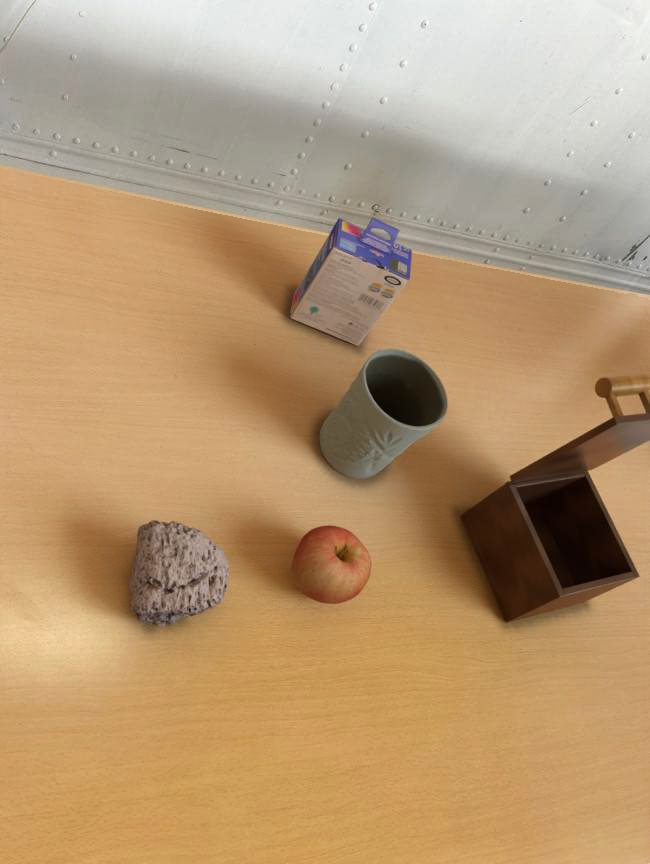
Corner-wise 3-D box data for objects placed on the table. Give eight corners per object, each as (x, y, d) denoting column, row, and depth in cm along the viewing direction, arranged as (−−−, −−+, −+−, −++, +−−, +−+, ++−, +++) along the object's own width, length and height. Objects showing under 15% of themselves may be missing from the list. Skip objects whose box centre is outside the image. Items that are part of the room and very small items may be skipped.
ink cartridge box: (363, 316, 101) (425, 234, 88) (359, 348, 98) (423, 268, 86) (294, 287, 98) (348, 198, 86) (288, 319, 96) (343, 232, 83)
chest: (583, 602, 94) (640, 576, 87) (506, 623, 89) (560, 596, 81) (536, 502, 98) (587, 469, 91) (460, 515, 93) (507, 481, 85)
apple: (264, 565, 80) (296, 534, 73) (317, 530, 84) (352, 497, 78) (311, 629, 79) (348, 603, 72) (362, 590, 83) (401, 562, 77)
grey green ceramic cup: (303, 459, 88) (353, 400, 78) (324, 394, 93) (374, 331, 83) (380, 498, 89) (440, 446, 79) (397, 432, 95) (455, 375, 84)
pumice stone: (174, 655, 75) (237, 576, 78) (186, 652, 68) (255, 565, 71) (90, 587, 75) (156, 510, 77) (93, 577, 67) (166, 491, 70)
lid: (702, 413, 78) (679, 362, 79) (617, 424, 72) (594, 368, 74) (591, 470, 90) (573, 424, 92) (511, 482, 85) (493, 434, 86)
